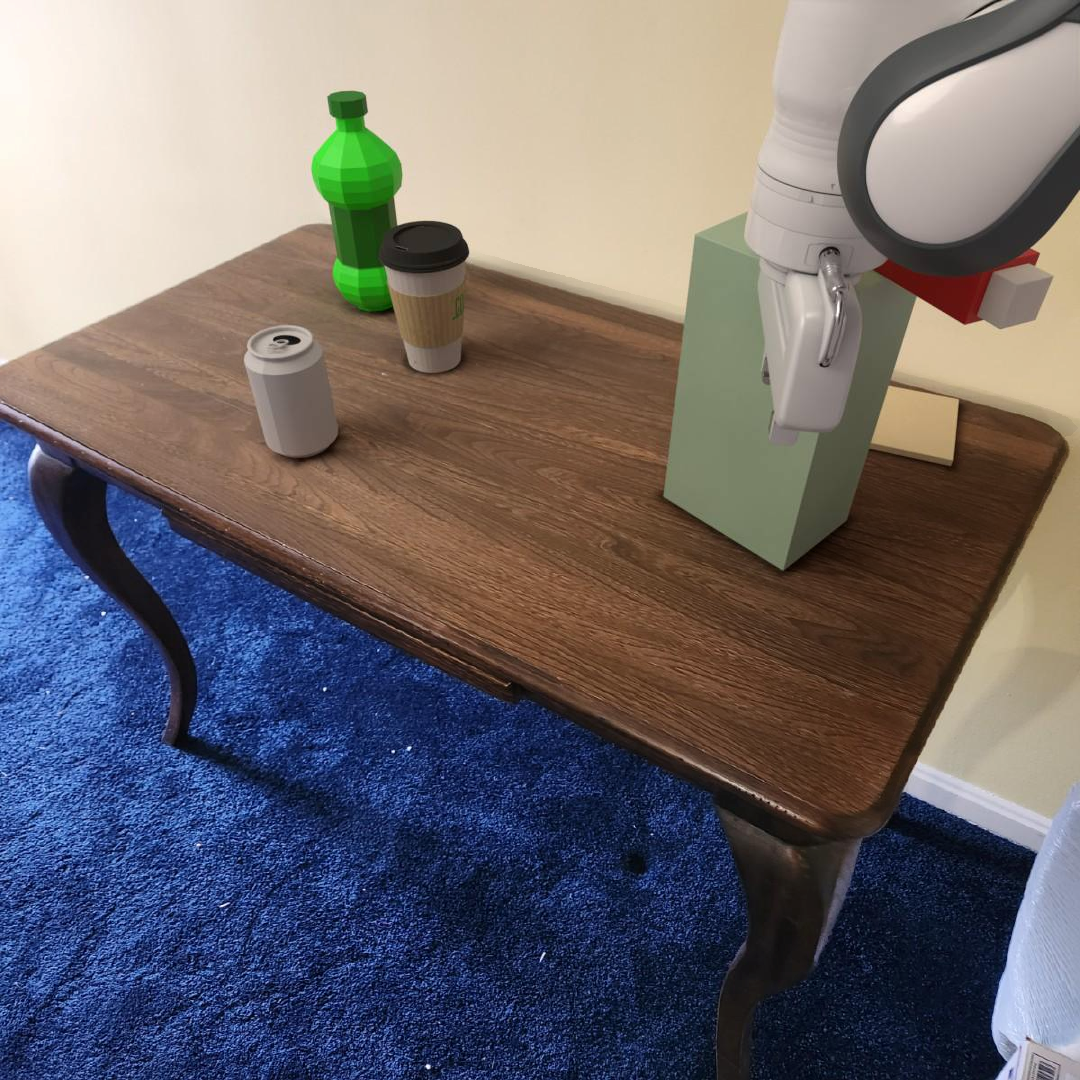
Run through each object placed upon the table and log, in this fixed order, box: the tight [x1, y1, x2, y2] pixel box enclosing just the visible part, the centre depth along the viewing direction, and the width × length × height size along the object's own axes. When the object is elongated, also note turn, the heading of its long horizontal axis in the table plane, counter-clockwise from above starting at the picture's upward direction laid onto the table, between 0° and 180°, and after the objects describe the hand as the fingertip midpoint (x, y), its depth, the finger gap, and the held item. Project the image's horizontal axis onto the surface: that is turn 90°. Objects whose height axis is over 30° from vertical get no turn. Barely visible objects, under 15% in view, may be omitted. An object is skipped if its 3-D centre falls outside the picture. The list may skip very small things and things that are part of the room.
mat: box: [869, 385, 960, 467], centre depth 93 cm, size 20×12×1 cm, turn 67°
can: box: [243, 324, 339, 459], centre depth 86 cm, size 8×8×12 cm
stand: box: [662, 211, 918, 572], centre depth 73 cm, size 14×10×26 cm
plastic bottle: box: [310, 90, 403, 313], centre depth 105 cm, size 10×10×25 cm
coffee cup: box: [379, 220, 470, 374], centre depth 97 cm, size 10×10×15 cm
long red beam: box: [872, 247, 1055, 330], centre depth 61 cm, size 24×4×4 cm, turn 24°
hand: (776, 408), depth 61 cm, fingers open, 6 cm apart
